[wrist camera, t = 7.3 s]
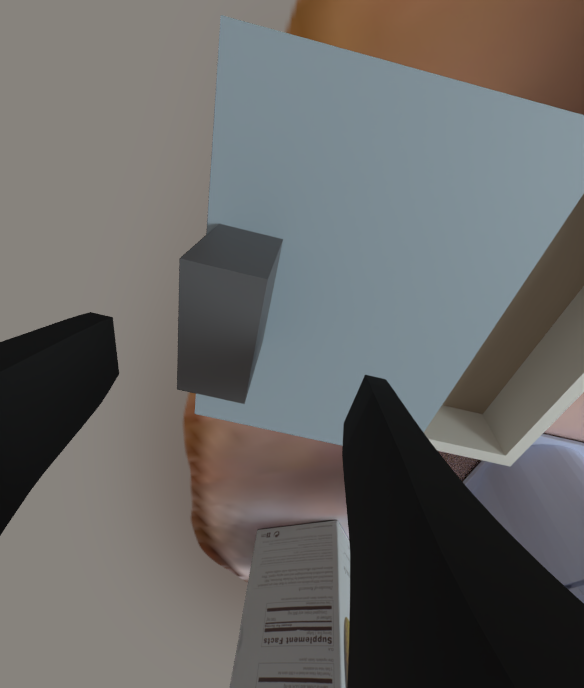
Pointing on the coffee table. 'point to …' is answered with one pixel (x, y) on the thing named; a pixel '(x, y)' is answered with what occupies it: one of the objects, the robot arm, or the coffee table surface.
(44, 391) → the robot arm
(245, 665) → the supplement box
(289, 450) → the coffee table surface
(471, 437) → the carton
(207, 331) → the lid flap
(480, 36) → the coffee table surface
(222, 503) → the coffee table surface
